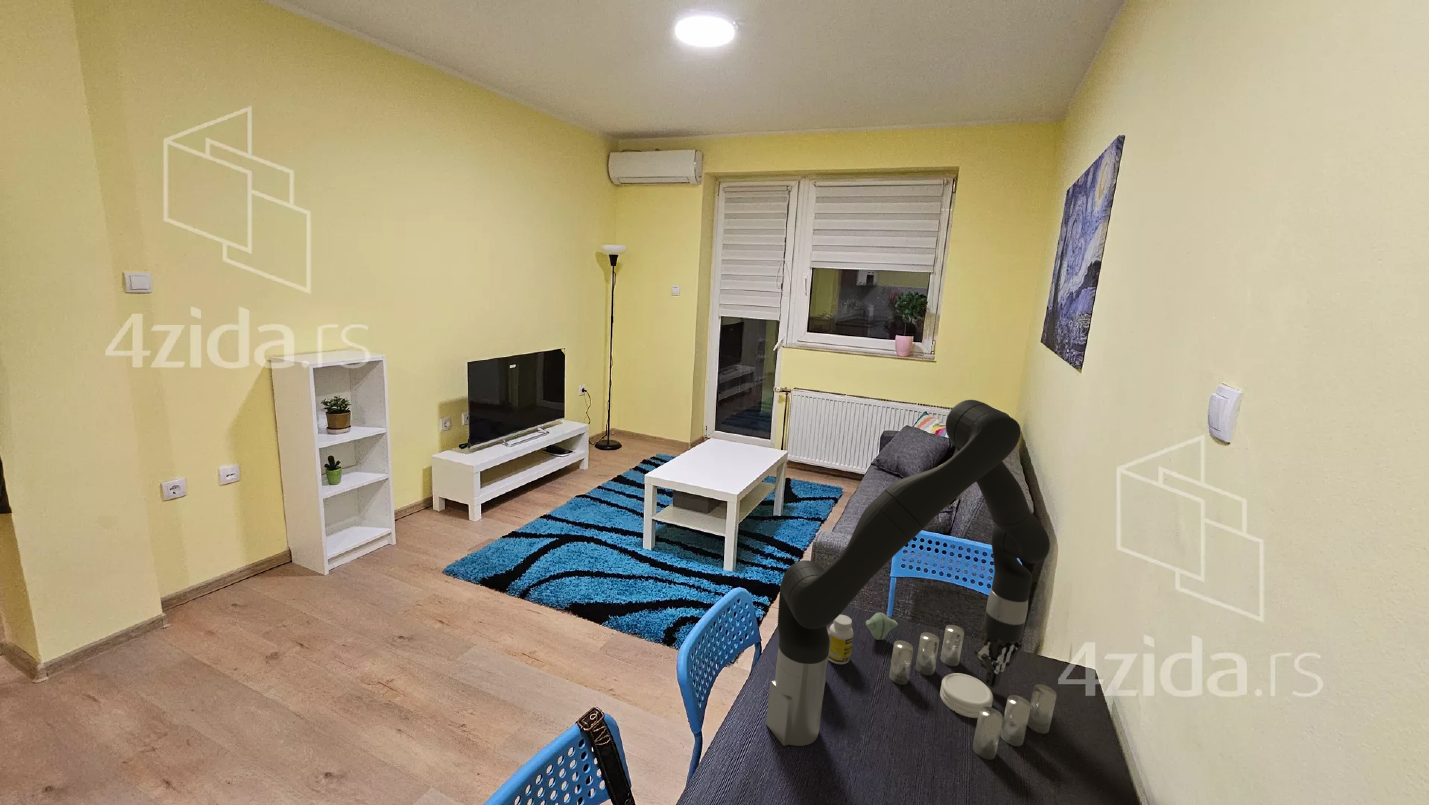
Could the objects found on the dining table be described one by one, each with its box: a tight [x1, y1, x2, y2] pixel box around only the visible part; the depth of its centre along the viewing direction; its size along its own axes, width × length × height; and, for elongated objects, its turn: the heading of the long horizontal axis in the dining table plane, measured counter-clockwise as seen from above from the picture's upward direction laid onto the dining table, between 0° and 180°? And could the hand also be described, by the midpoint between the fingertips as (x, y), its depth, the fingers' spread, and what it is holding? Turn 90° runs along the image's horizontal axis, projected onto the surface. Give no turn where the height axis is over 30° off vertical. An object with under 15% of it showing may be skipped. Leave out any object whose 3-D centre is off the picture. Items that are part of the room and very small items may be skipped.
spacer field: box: [888, 624, 1058, 761], centre depth 124 cm, size 20×26×8 cm
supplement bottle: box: [828, 614, 854, 665], centre depth 135 cm, size 5×5×10 cm
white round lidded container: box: [939, 672, 994, 719], centre depth 125 cm, size 10×10×4 cm
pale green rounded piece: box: [865, 612, 899, 641], centre depth 144 cm, size 8×4×7 cm, turn 98°
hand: (991, 684), depth 129 cm, fingers closed
